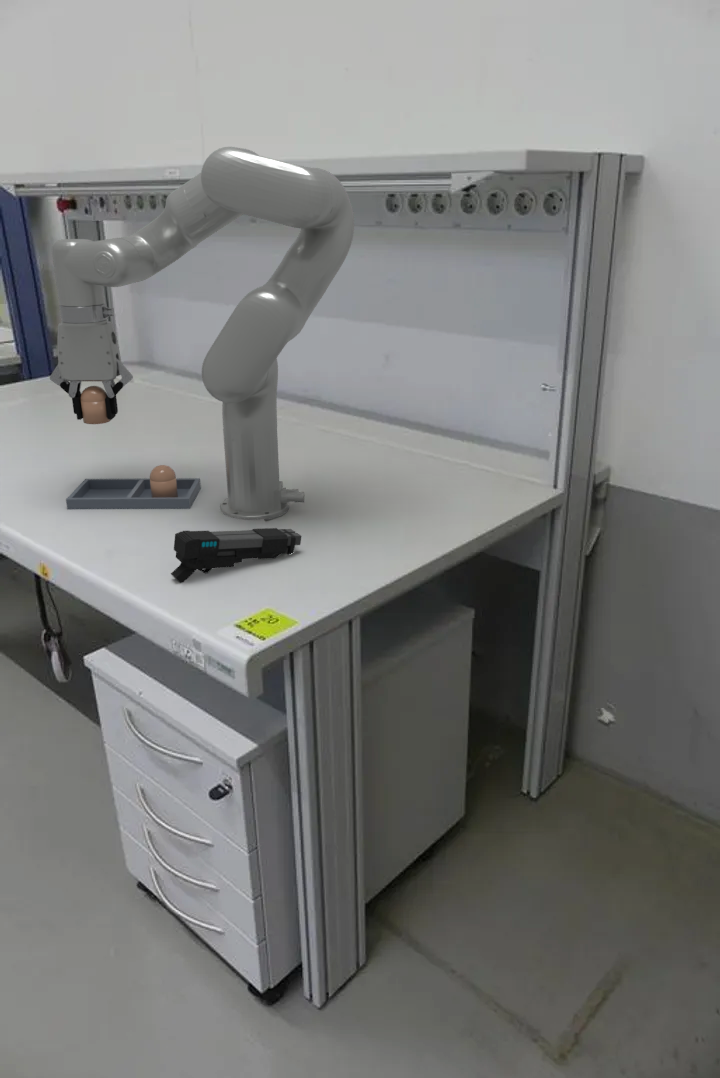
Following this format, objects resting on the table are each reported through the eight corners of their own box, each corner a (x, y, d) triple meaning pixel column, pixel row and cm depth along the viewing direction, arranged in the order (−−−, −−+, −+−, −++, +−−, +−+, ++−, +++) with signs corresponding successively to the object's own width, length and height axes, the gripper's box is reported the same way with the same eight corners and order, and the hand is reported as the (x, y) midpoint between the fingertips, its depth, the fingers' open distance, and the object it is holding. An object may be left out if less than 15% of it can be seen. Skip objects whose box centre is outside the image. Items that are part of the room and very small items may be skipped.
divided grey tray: (201, 490, 159) (200, 478, 158) (190, 511, 148) (188, 498, 147) (87, 490, 158) (85, 478, 157) (67, 512, 148) (65, 499, 147)
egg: (113, 417, 149) (109, 383, 147) (106, 424, 145) (102, 389, 142) (87, 417, 149) (83, 383, 147) (79, 424, 145) (75, 388, 142)
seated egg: (180, 493, 155) (177, 461, 153) (175, 502, 151) (171, 469, 148) (155, 493, 155) (151, 461, 153) (149, 502, 151) (145, 469, 148)
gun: (164, 575, 122) (179, 513, 120) (274, 584, 135) (290, 528, 133) (175, 586, 119) (191, 522, 117) (288, 594, 131) (304, 536, 129)
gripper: (137, 312, 143) (148, 412, 150) (42, 312, 143) (57, 412, 150) (127, 318, 136) (138, 423, 143) (26, 318, 136) (42, 423, 143)
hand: (96, 416), depth 147 cm, fingers closed on egg, 4 cm apart
